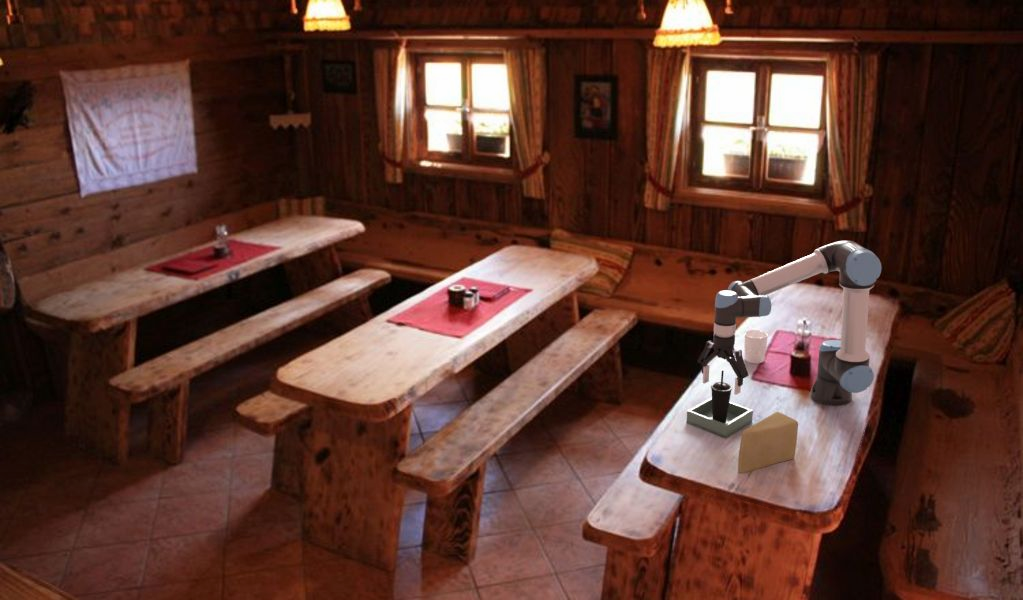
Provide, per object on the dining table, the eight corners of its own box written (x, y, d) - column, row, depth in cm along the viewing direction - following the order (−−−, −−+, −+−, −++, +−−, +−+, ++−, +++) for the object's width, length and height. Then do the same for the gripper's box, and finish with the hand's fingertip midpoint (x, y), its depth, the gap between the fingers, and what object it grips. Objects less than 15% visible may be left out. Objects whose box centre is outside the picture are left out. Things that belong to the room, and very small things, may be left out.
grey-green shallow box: (752, 422, 326) (752, 410, 325) (725, 438, 316) (726, 425, 314) (713, 407, 338) (714, 395, 336) (686, 422, 327) (687, 410, 326)
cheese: (750, 479, 290) (753, 438, 285) (728, 466, 298) (730, 427, 292) (796, 459, 301) (799, 420, 296) (774, 447, 309) (777, 409, 303)
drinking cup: (713, 413, 332) (716, 364, 325) (733, 418, 327) (736, 369, 320) (705, 421, 326) (708, 372, 319) (725, 426, 322) (728, 377, 315)
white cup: (761, 366, 373) (763, 339, 369) (739, 361, 378) (741, 335, 374) (768, 358, 380) (770, 332, 376) (747, 353, 385) (749, 328, 381)
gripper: (760, 339, 309) (756, 394, 316) (701, 322, 326) (698, 374, 333) (748, 345, 304) (745, 401, 311) (689, 327, 321) (686, 380, 328)
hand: (721, 387), depth 322 cm, fingers open, 13 cm apart
